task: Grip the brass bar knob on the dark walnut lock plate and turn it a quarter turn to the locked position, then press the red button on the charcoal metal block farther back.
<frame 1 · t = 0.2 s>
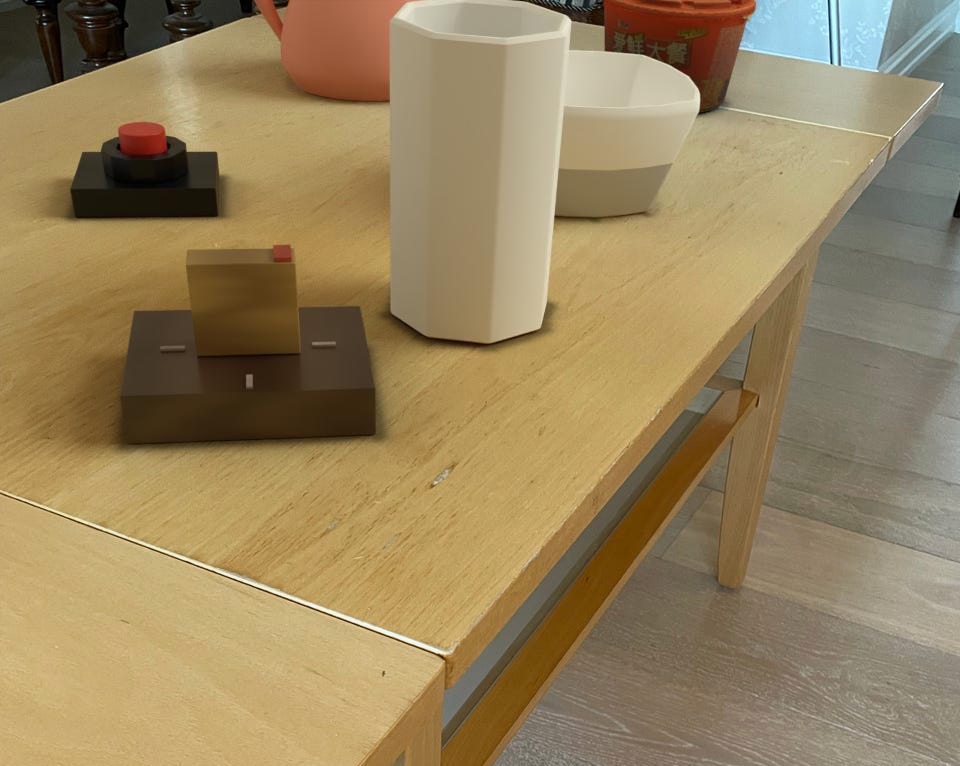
lock knob: (244, 300, 66), point 6 cm above the table, hinge at 0.0°
button block: (150, 196, 94), on the table
lock plate: (253, 393, 70), on the table
food container: (663, 99, 124), on the table
button: (142, 140, 92), point 4 cm above the table, slide at 0.1 cm
bowl: (577, 195, 100), on the table
teapot: (371, 84, 123), on the table
cup: (469, 313, 81), on the table
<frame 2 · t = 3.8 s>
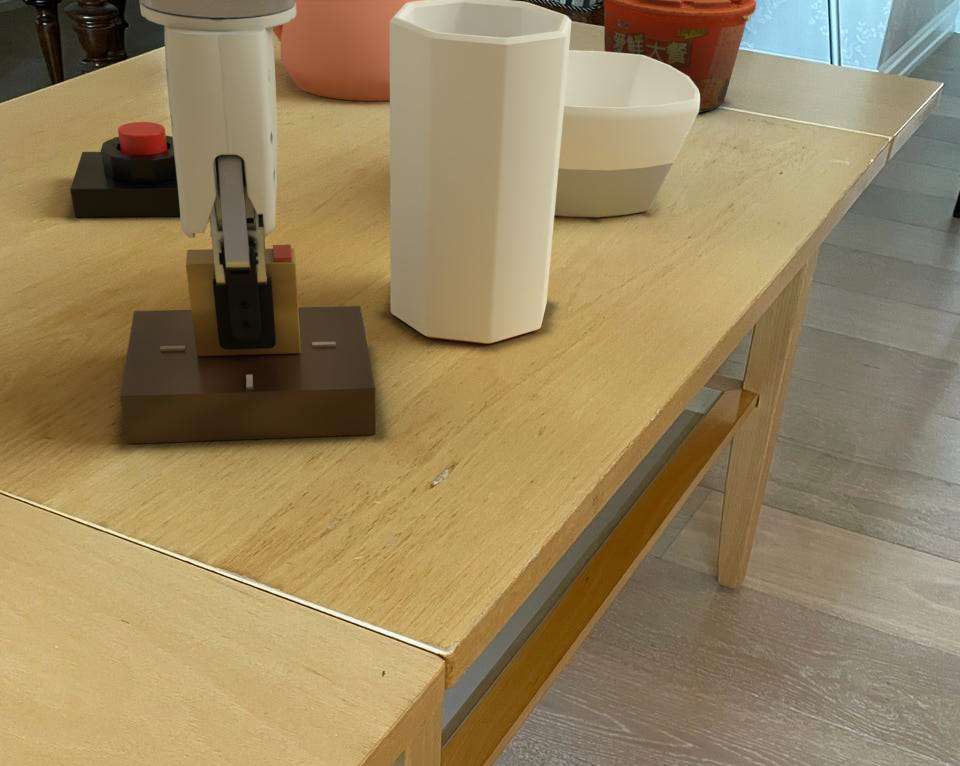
hand: (247, 332, 68), 4 cm above the table, tool pointing down, fingers closed on lock knob, 2 cm apart
lock knob: (244, 300, 66), point 6 cm above the table, hinge at 0.0°, touching gripper
everything else where it was.
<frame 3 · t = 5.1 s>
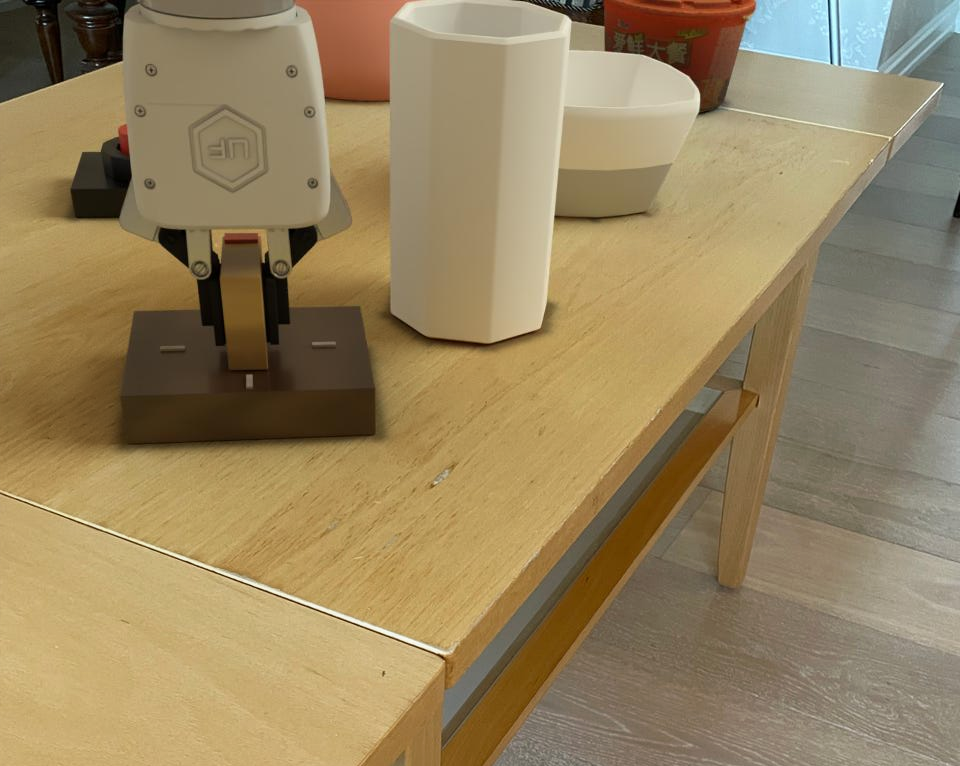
hand: (247, 333, 67), 4 cm above the table, tool pointing down, fingers closed on lock knob, 2 cm apart
lock knob: (244, 300, 66), point 6 cm above the table, hinge at 89.3°, touching gripper
everything else where it was.
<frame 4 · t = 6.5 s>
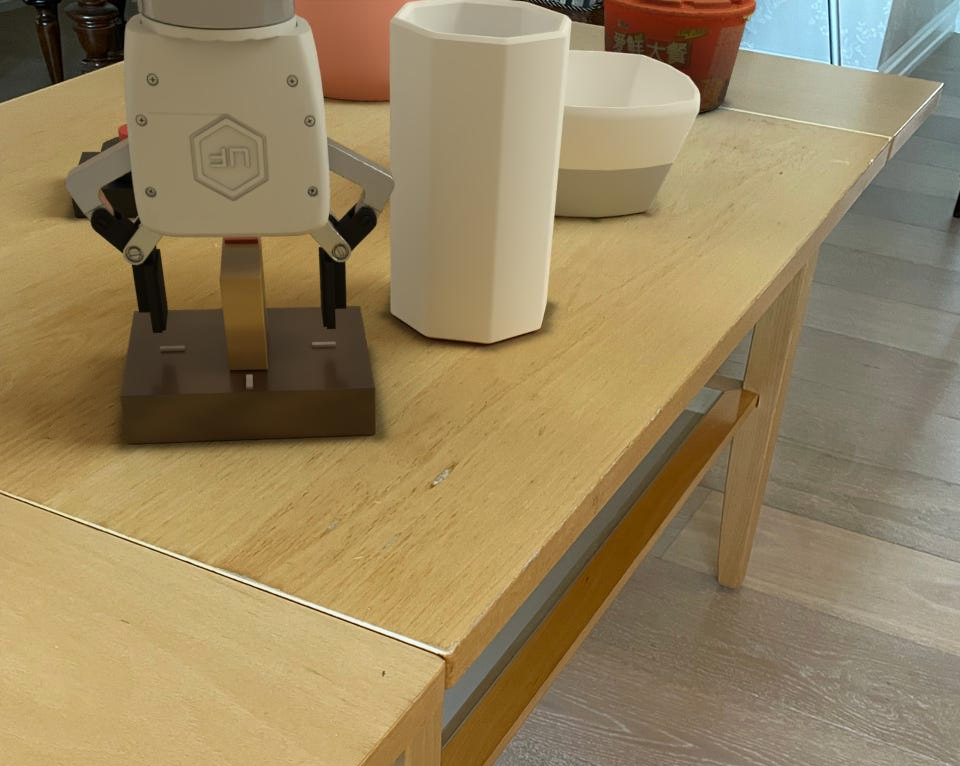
hand: (245, 321, 67), 5 cm above the table, tool pointing down, fingers open, 9 cm apart
lock knob: (244, 300, 66), point 6 cm above the table, hinge at 89.1°
everything else where it was.
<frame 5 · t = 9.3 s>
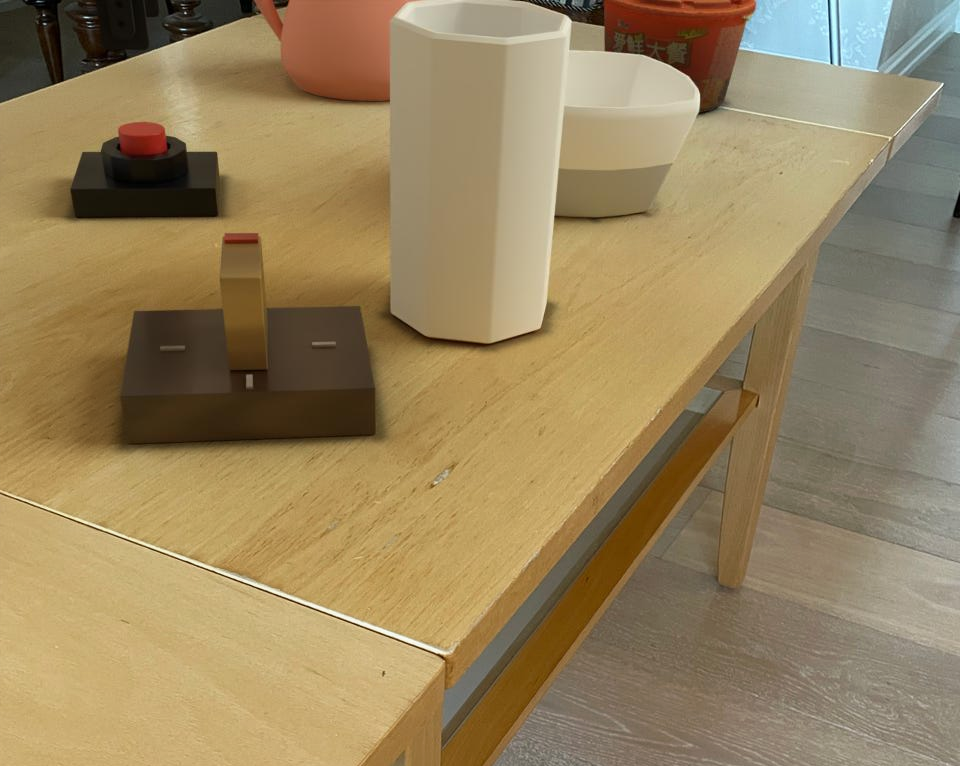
hand: (132, 31, 85), 13 cm above the table, tool pointing down, fingers open, 9 cm apart
nothing on the table moved.
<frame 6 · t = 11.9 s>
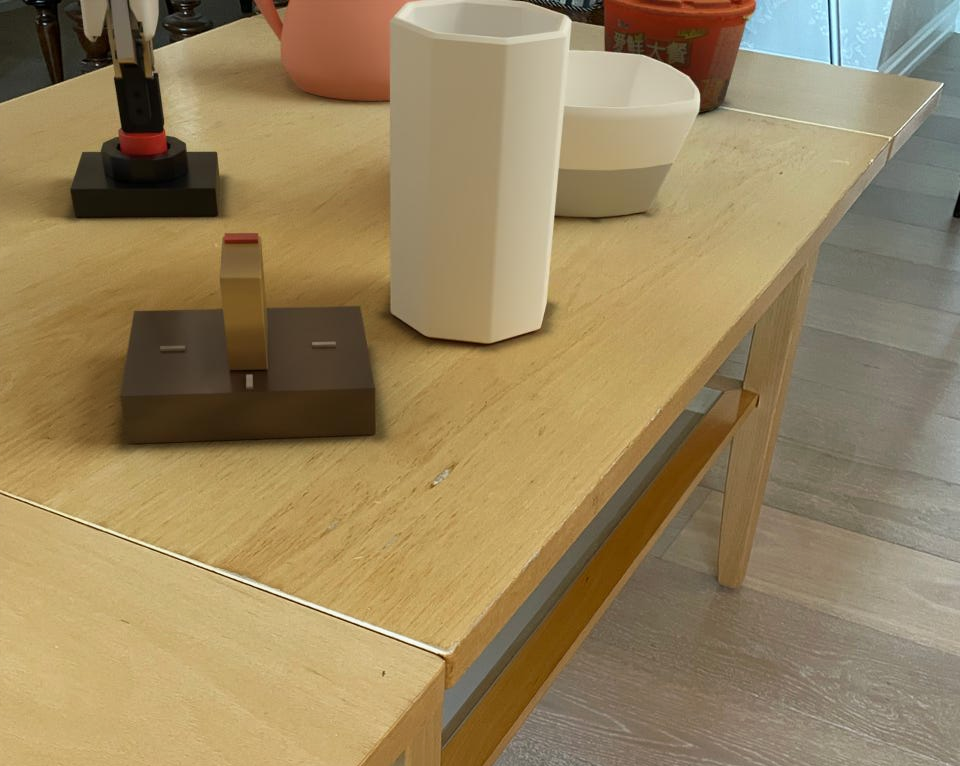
hand: (143, 129, 91), 5 cm above the table, tool pointing down, fingers closed
button: (143, 141, 92), point 4 cm above the table, slide at 0.0 cm, touching gripper
everything else where it was.
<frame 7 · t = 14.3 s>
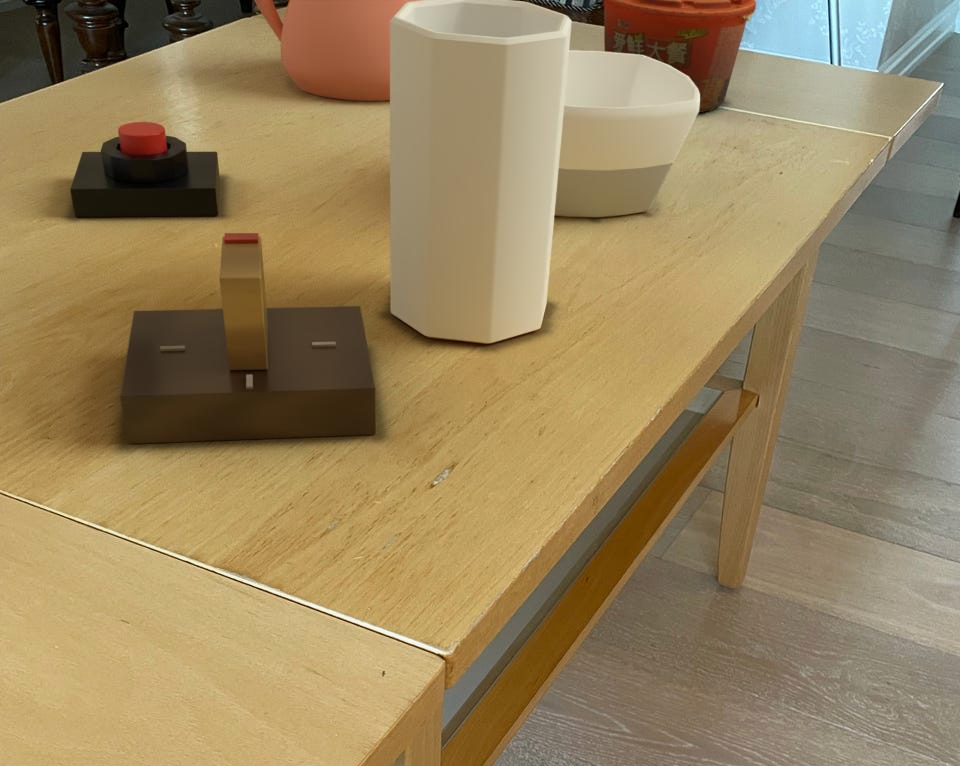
button: (142, 140, 92), point 4 cm above the table, slide at 0.1 cm
everything else where it was.
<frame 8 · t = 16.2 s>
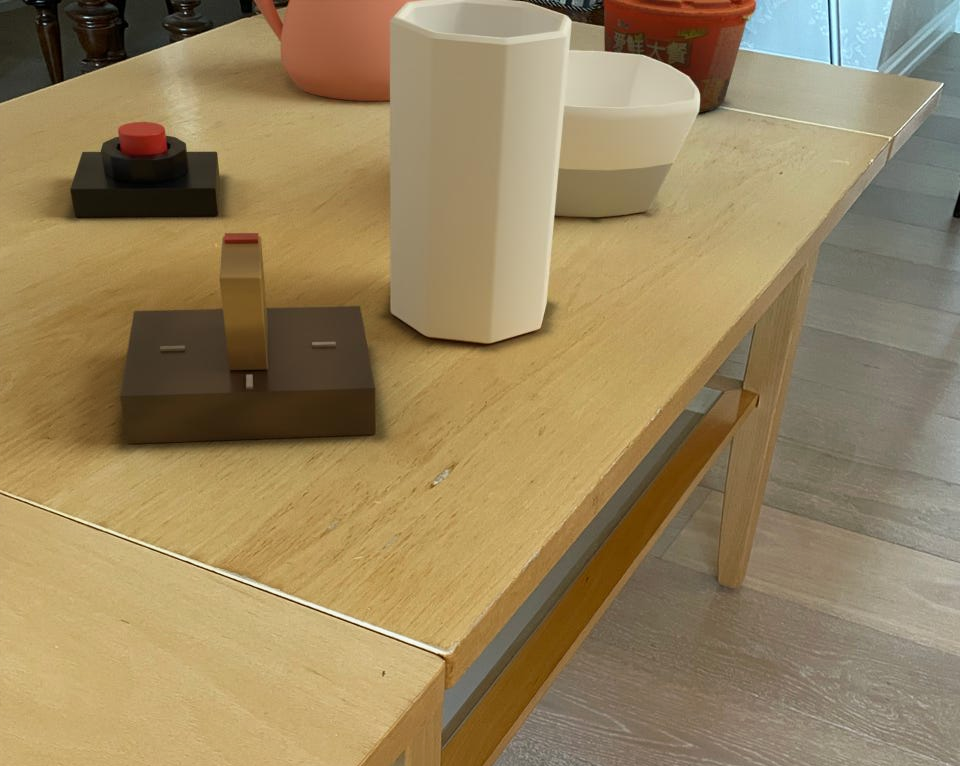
nothing on the table moved.
at the end: lock knob at +89° (first picture: +0°); button pushed in 1.1 cm at the most during the clip, back to where it started at the end; button slide at 0.1 cm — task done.
